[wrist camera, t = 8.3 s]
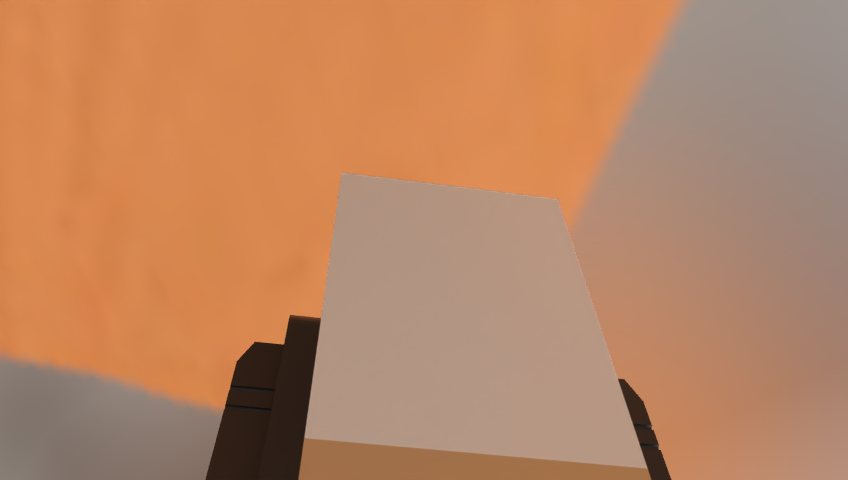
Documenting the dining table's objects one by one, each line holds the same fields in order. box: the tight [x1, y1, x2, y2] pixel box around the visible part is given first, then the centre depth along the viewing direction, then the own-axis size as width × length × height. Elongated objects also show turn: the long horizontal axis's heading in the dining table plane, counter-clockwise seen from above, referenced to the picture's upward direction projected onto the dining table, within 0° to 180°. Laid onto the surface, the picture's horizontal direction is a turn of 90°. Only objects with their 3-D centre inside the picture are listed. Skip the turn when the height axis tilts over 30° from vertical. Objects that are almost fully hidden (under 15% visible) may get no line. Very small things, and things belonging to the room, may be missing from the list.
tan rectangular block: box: [298, 172, 651, 480], centre depth 13 cm, size 5×4×7 cm
